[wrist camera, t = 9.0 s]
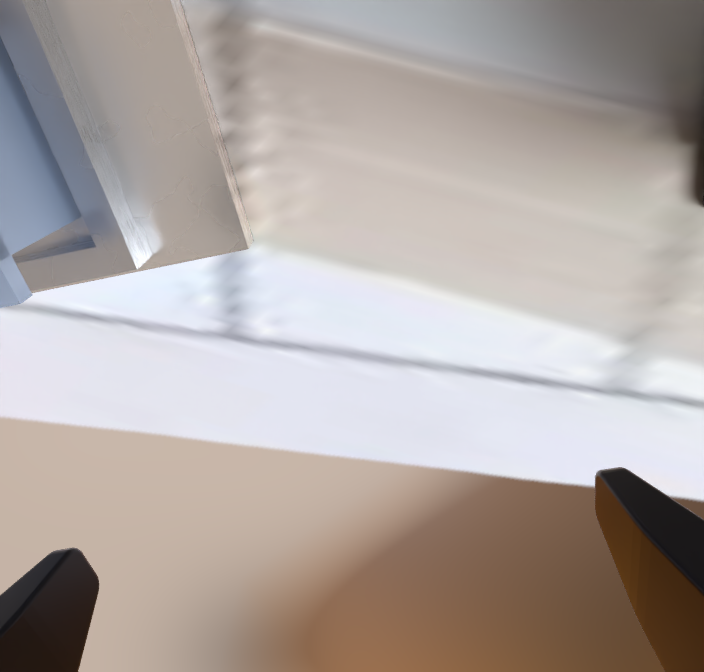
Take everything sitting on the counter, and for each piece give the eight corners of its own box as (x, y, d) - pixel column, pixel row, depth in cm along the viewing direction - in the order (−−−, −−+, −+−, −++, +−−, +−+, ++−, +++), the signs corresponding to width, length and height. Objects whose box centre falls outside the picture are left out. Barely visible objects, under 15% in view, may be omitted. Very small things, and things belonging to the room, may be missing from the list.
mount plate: (148, -103, 14) (115, -129, 12) (253, 240, 19) (241, 260, 17) (-224, 3, 16) (-308, -6, 14) (-42, 300, 20) (-85, 326, 18)
